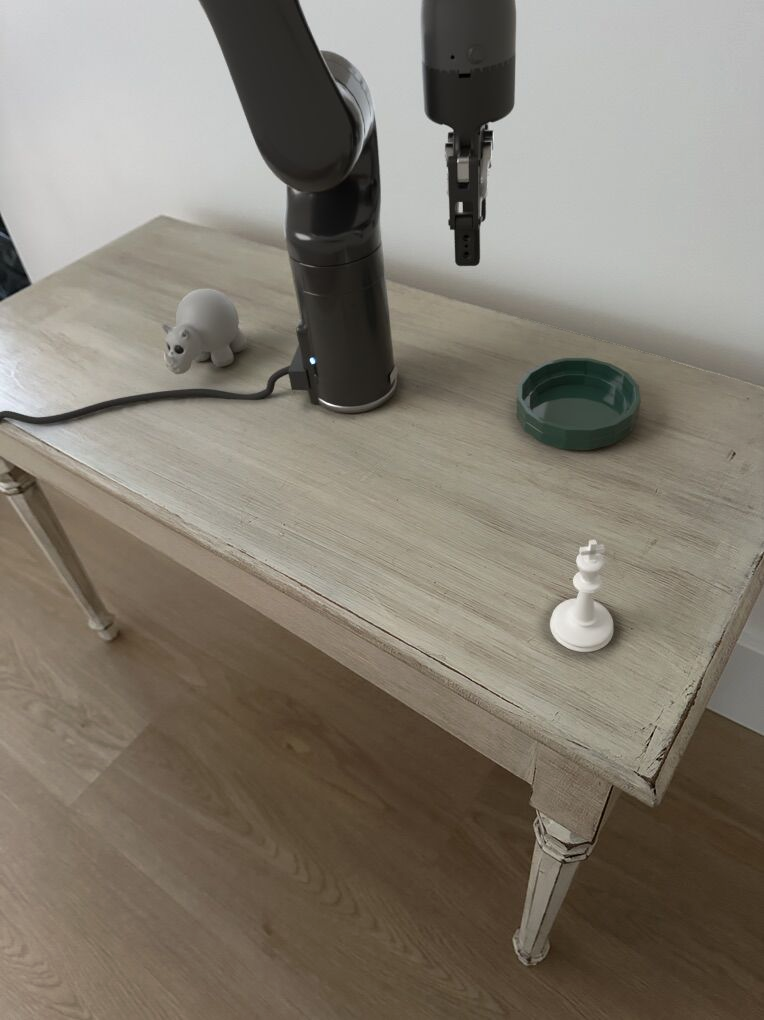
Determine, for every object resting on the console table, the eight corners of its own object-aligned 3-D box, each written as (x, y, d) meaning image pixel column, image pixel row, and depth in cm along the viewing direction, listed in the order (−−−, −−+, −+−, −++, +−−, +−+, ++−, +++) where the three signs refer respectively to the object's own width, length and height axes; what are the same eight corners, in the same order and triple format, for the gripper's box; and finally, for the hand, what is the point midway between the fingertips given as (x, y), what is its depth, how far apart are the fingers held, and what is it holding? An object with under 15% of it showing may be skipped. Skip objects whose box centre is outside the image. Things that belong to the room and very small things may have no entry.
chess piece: (543, 606, 65) (550, 521, 58) (603, 598, 65) (617, 513, 58) (558, 656, 61) (567, 572, 54) (621, 648, 61) (638, 563, 54)
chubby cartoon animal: (151, 388, 93) (128, 325, 87) (211, 334, 100) (193, 272, 94) (200, 401, 90) (180, 337, 84) (258, 344, 97) (243, 281, 91)
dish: (514, 451, 79) (515, 428, 77) (518, 380, 87) (519, 357, 85) (640, 455, 77) (644, 431, 75) (631, 381, 85) (635, 358, 83)
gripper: (431, 27, 69) (439, 209, 80) (410, 82, 59) (422, 280, 70) (518, 21, 67) (514, 207, 79) (512, 77, 57) (508, 279, 69)
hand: (471, 241), depth 74 cm, fingers open, 8 cm apart
